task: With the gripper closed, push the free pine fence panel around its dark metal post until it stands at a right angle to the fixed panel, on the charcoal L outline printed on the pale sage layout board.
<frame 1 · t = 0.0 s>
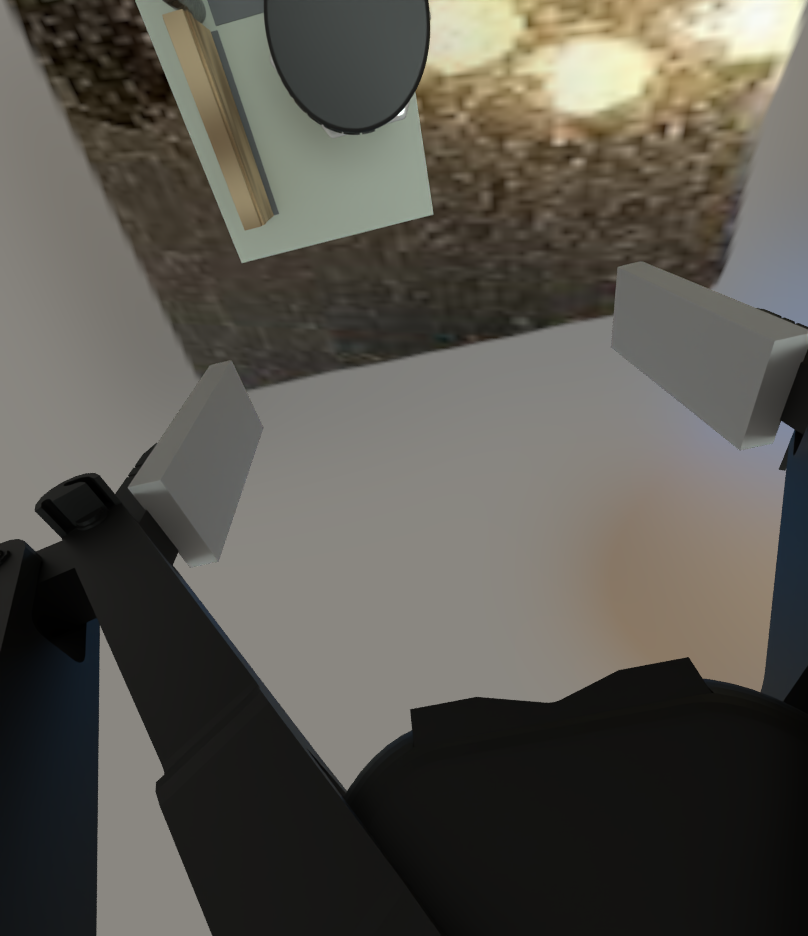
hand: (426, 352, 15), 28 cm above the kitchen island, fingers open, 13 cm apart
jar: (351, 62, 31), resting on layout board
fixed panel: (239, 134, 33), resting on layout board
layout board: (271, 0, 29), on the kitchen island
hinge post: (196, 10, 29), resting on layout board
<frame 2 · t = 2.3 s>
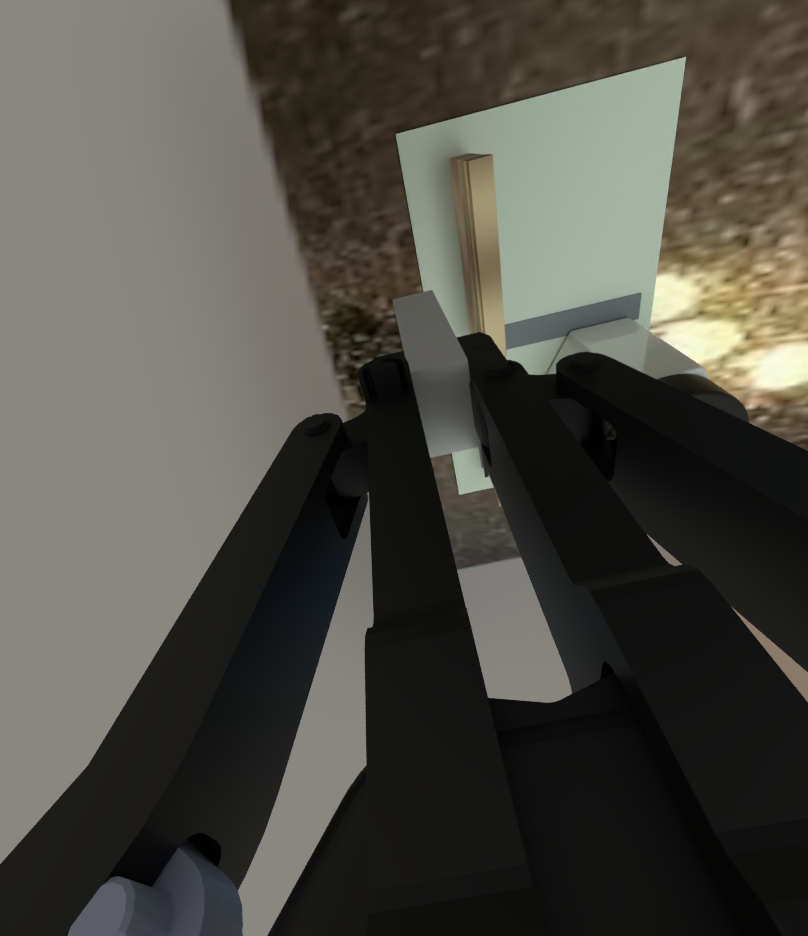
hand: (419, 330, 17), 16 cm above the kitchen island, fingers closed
jar: (594, 367, 36), resting on layout board
fence panel: (478, 261, 27), point 4 cm above the kitchen island, hinge at 90.0°
layout board: (540, 333, 34), on the kitchen island
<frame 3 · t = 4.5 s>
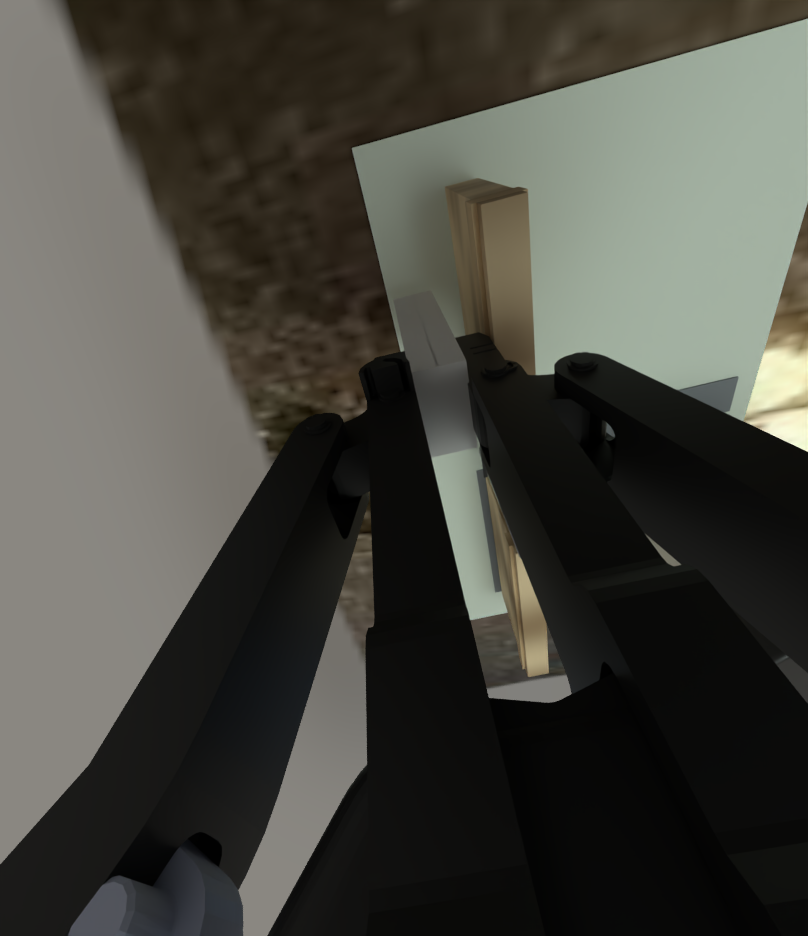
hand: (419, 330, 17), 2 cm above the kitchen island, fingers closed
jar: (658, 472, 25), resting on layout board
fence panel: (495, 356, 16), point 4 cm above the kitchen island, hinge at 89.9°, touching gripper
fixed panel: (501, 531, 27), resting on layout board
layout board: (583, 432, 23), on the kitchen island
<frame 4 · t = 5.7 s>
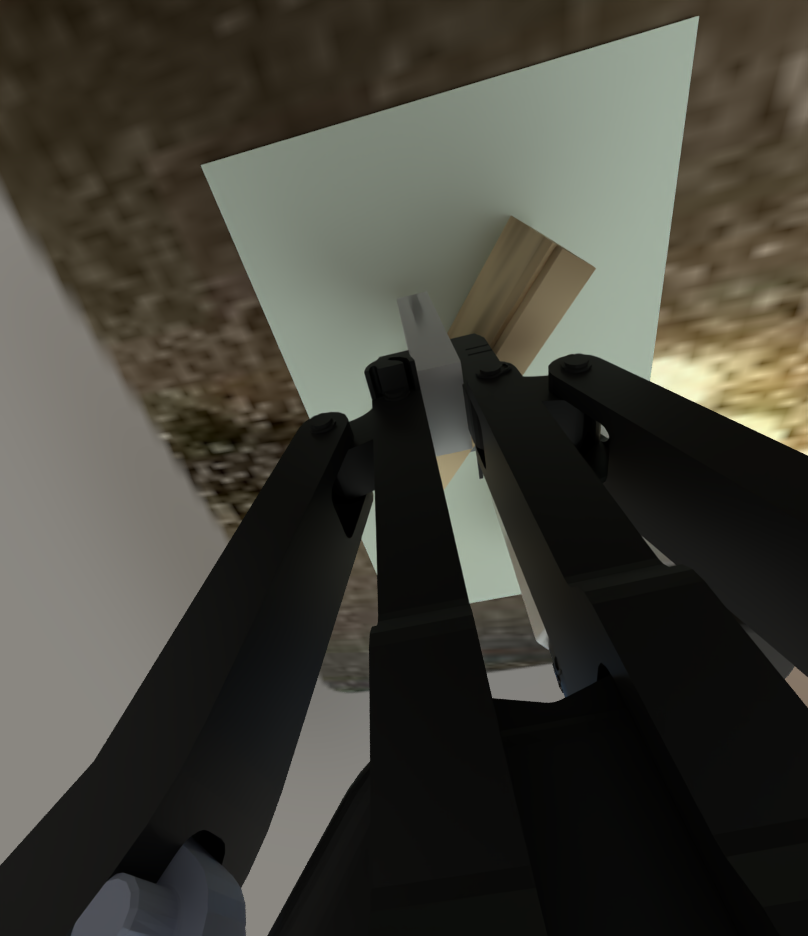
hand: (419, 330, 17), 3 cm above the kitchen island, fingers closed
jar: (565, 476, 26), resting on layout board
fence panel: (464, 376, 17), point 4 cm above the kitchen island, hinge at 51.4°, touching gripper
layout board: (483, 437, 24), on the kitchen island
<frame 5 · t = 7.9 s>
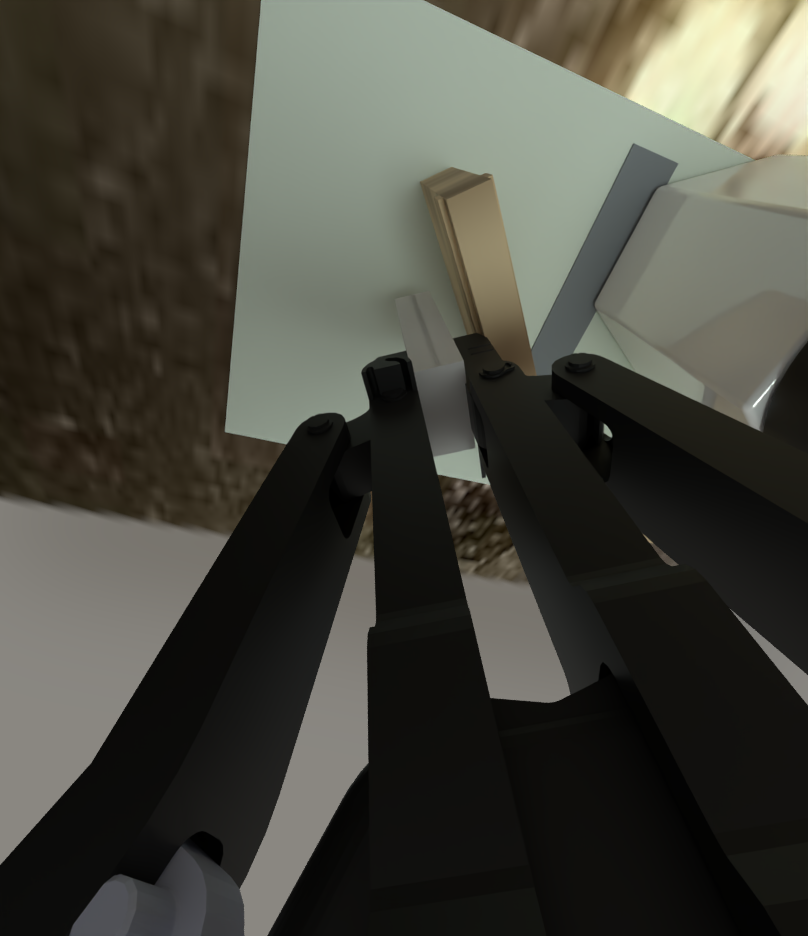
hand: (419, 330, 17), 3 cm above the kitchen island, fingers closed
jar: (692, 275, 19), resting on layout board
fence panel: (493, 342, 16), point 4 cm above the kitchen island, hinge at 38.8°, touching gripper
layout board: (562, 344, 21), on the kitchen island
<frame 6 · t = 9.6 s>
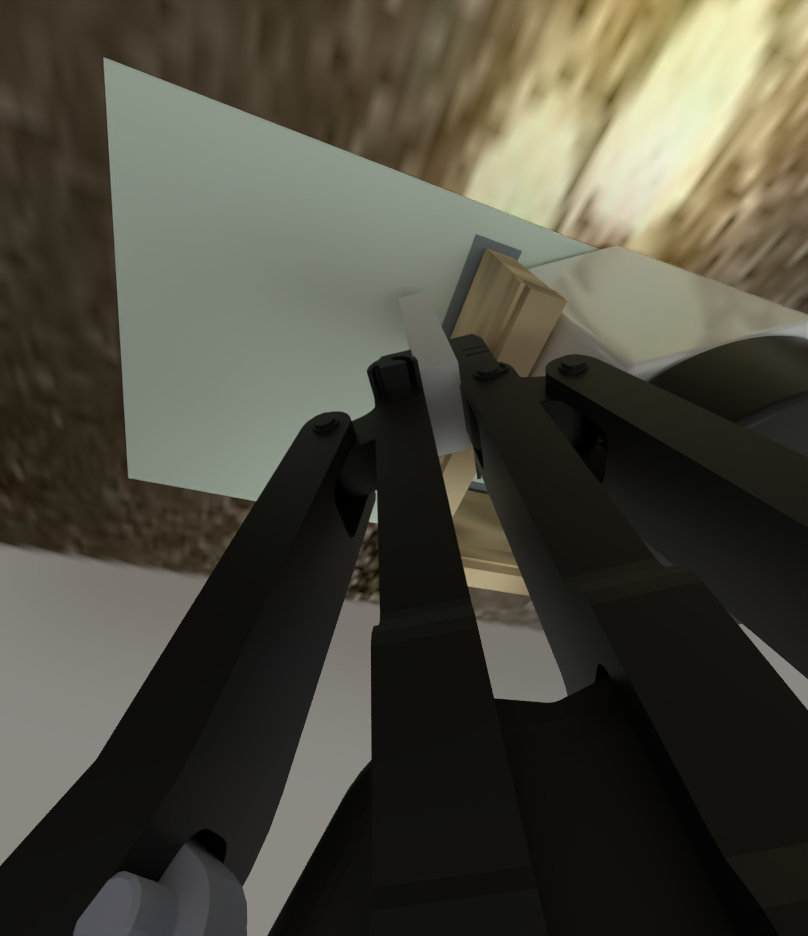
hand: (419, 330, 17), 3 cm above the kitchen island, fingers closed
jar: (559, 347, 20), resting on layout board, touching fence panel, hand
fence panel: (458, 407, 18), point 4 cm above the kitchen island, hinge at -0.4°, touching gripper, jar
fixed panel: (508, 499, 26), resting on layout board
layout board: (442, 403, 22), on the kitchen island
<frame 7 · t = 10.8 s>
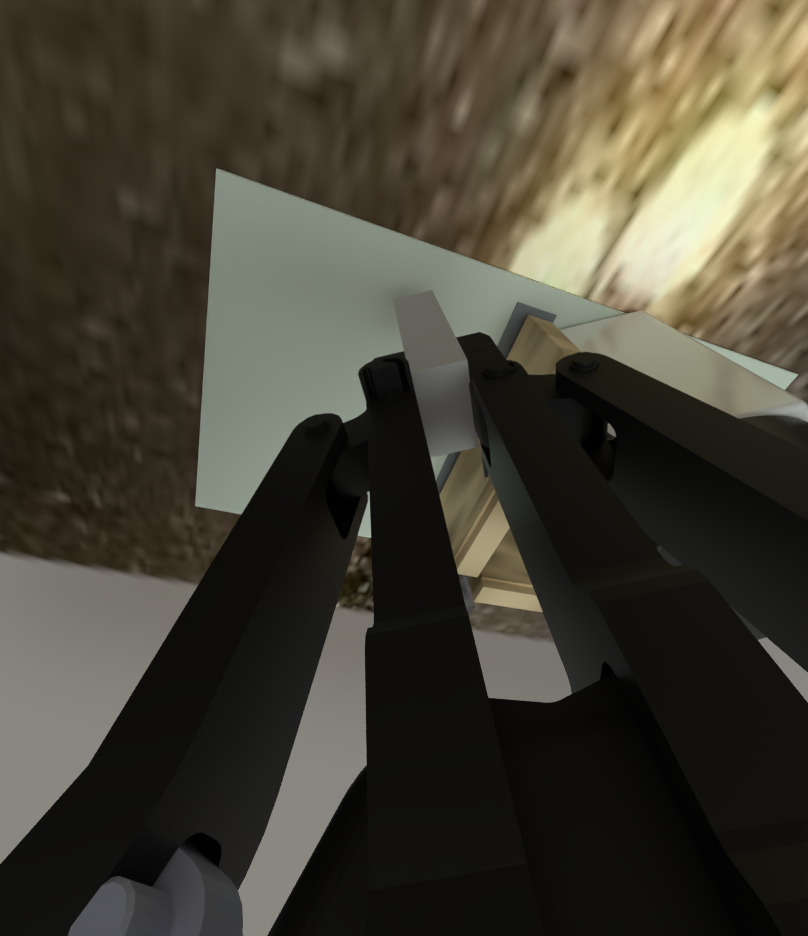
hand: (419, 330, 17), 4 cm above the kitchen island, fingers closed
jar: (587, 392, 23), resting on layout board
fence panel: (501, 451, 20), point 4 cm above the kitchen island, hinge at -0.8°
fixed panel: (534, 524, 28), resting on layout board
layout board: (479, 441, 24), on the kitchen island
hinge post: (439, 504, 27), resting on layout board
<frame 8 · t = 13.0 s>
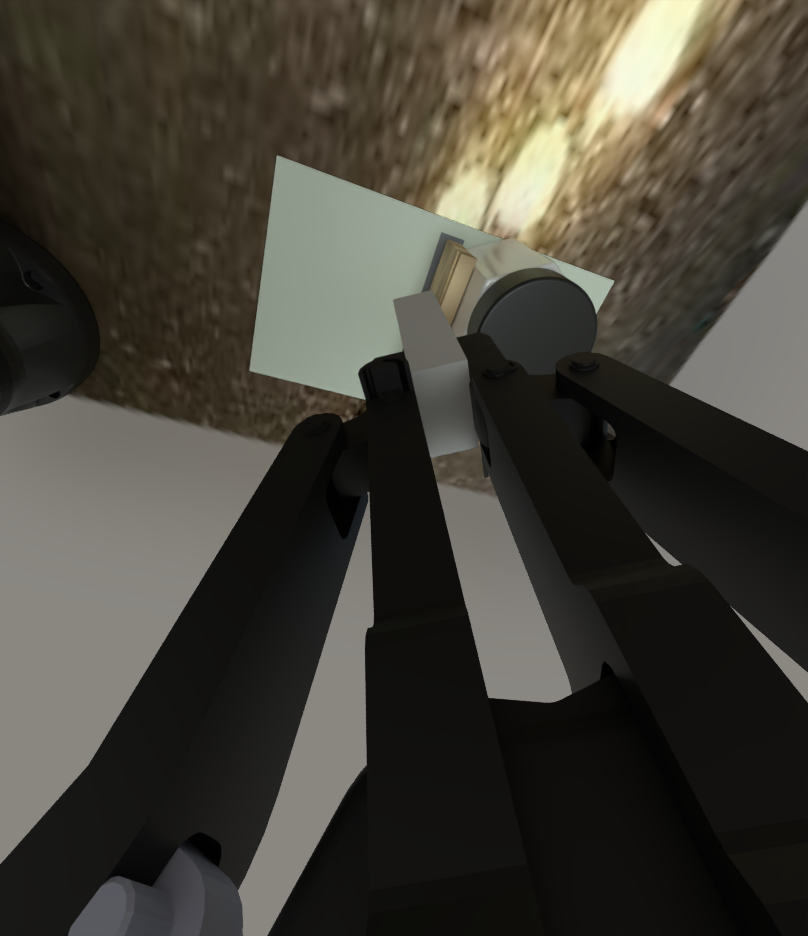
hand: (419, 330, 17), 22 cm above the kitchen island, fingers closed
jar: (488, 291, 38), resting on layout board
fence panel: (434, 319, 36), point 4 cm above the kitchen island, hinge at -0.8°
layout board: (426, 326, 39), on the kitchen island
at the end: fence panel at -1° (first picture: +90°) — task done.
